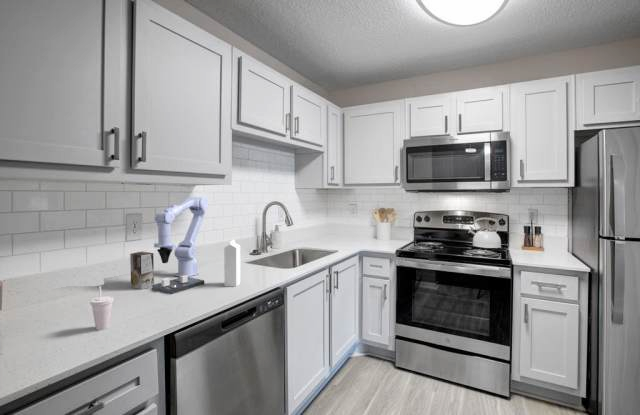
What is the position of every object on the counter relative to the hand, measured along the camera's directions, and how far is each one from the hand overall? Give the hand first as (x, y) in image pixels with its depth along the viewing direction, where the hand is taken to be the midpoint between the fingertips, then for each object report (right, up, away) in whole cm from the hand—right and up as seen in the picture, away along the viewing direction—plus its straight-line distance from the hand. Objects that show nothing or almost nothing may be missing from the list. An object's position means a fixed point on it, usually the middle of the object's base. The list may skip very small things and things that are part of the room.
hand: (165, 262), depth 161 cm
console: (+10, -10, -6) cm, 16 cm away
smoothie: (+5, -13, -53) cm, 55 cm away
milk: (+34, -11, -2) cm, 36 cm away
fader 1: (+6, -8, -13) cm, 16 cm away
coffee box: (-8, -10, -7) cm, 14 cm away
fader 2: (+12, -8, -7) cm, 16 cm away
